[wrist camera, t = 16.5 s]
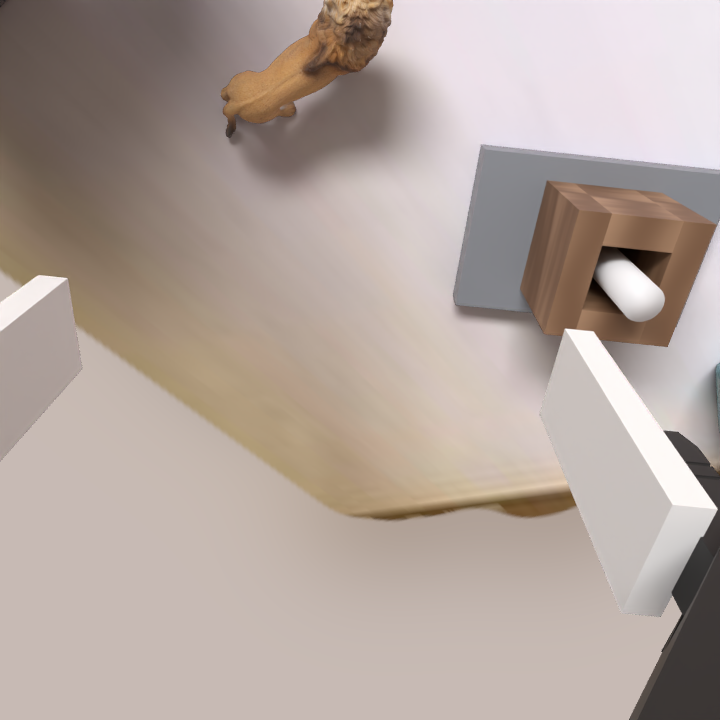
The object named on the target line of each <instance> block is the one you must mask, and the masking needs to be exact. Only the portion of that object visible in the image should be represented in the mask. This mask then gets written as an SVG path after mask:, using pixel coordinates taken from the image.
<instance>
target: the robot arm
mask: <svg viewBox="0 0 720 720" xmlns="http://www.w3.org/2000/svg"><path fill="white" fill-rule="evenodd" d="M4 2H5V0H0V7H1V6H2V4H3V3H4ZM81 370H82V364H81V358H80V351H79V345H78V339H77V333H76V326H75V320H74V314H73V307H72V301H71V295H70V288H69V282H68V278H62V277H52V276H42V275H38V276H36V277H35V278H34V279H32V280H31V281H29V282H28V283H27V284H25V285H24V286H22V287H21V288H20V289H18V290H17V291H15V292H14V293H13V294H11V295H10V296H8V297H7V298H6V299H4V300H3V301H1V302H0V461H1V460H2V459H3V458H4V457H5V456H6V454H7V453H8V452H9V451H10V450H11V449H12V448H13V447H14V445H15V444H16V443H17V442H18V441H19V440H20V439H21V438H22V436H23V435H24V434H25V433H26V432H27V431H28V429H29V428H30V427H31V426H32V425H33V424H34V423H35V421H37V419H38V418H39V417H40V416H41V415H42V414H43V413H44V412H45V410H46V409H47V408H48V407H49V406H50V405H51V403H52V402H53V401H54V400H55V399H56V398H57V397H58V396H59V394H60V393H61V392H62V391H63V390H64V389H65V388H66V387H67V385H68V384H69V383H70V382H71V381H72V380H73V379H74V378H75V376H76V375H77V374H78V373H79V372H80V371H81ZM540 416H541V419H542V421H543V424H544V426H545V429H546V431H547V434H548V436H549V438H550V441H551V443H552V446H553V448H554V451H555V453H556V456H557V458H558V461H559V463H560V465H561V468H562V470H563V473H564V475H565V478H566V480H567V483H568V485H569V487H570V490H571V492H572V495H573V497H574V500H575V502H576V505H577V507H578V509H579V512H580V514H581V516H582V519H583V522H584V524H585V527H586V529H587V531H588V534H589V536H590V539H591V541H592V543H593V546H594V548H595V551H596V553H597V556H598V558H599V561H600V563H601V566H602V568H603V571H604V573H605V575H606V578H607V580H608V583H609V585H610V588H611V590H612V593H613V595H614V597H615V600H616V602H617V605H618V607H619V610H620V612H621V613H625V614H635V615H646V616H656V617H661V615H662V614H663V612H664V610H665V608H666V606H667V604H668V602H669V600H670V598H671V597H672V595H673V597H674V599H675V601H676V603H677V605H678V607H679V609H680V610H681V612H682V615H681V617H680V619H679V621H678V622H677V624H676V626H675V628H674V630H673V631H672V633H671V635H670V637H669V638H668V640H667V642H666V644H665V646H664V648H663V649H662V654H661V656H660V658H659V660H658V662H657V664H656V666H655V669H654V670H653V673H652V674H651V676H650V678H649V680H648V682H647V685H646V687H645V689H644V690H643V692H642V694H641V696H640V699H639V700H638V702H637V704H636V707H635V709H634V711H633V713H632V715H631V717H630V719H629V720H720V476H719V474H718V473H717V472H716V471H715V469H714V468H713V467H710V463H709V461H708V460H707V459H706V457H705V456H704V455H703V453H702V452H701V451H700V449H699V448H698V447H697V446H696V445H694V444H693V443H692V442H690V441H689V440H688V439H686V438H685V437H684V436H683V435H681V434H680V433H679V432H673V431H663V430H662V429H661V427H660V426H659V424H658V423H657V421H656V420H655V419H654V417H653V416H652V414H651V413H650V411H649V410H648V409H647V407H646V406H645V404H644V403H643V401H642V400H641V399H640V397H639V396H638V394H637V393H636V391H635V390H634V389H633V387H632V386H631V384H630V383H629V381H628V380H627V379H626V377H625V376H624V374H623V373H622V371H621V370H620V369H619V367H618V366H617V364H616V363H615V361H614V360H613V359H612V357H611V356H610V354H609V353H608V351H607V350H606V349H605V347H604V346H603V344H602V343H601V341H600V340H599V339H598V337H597V336H596V334H595V333H594V331H584V330H575V329H565V330H564V333H563V337H562V340H561V343H560V347H559V350H558V353H557V357H556V360H555V364H554V367H553V370H552V374H551V377H550V380H549V384H548V387H547V390H546V394H545V397H544V400H543V404H542V407H541V410H540Z"/></svg>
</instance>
